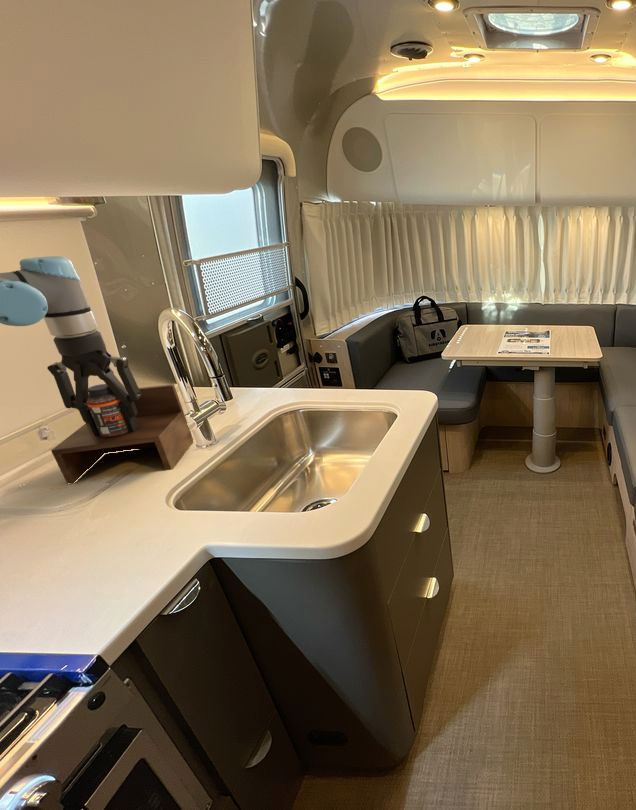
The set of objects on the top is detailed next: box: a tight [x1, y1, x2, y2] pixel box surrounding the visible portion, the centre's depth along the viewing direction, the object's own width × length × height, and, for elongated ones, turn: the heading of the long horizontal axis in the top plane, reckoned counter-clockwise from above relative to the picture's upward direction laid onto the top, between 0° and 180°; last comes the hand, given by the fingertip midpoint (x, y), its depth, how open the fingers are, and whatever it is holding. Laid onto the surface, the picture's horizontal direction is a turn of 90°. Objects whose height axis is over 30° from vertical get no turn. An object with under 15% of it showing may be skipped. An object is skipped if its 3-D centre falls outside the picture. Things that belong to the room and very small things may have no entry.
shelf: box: [50, 384, 194, 485], centre depth 113 cm, size 15×20×16 cm
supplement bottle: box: [87, 383, 129, 437], centre depth 108 cm, size 6×6×11 cm
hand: (117, 431), depth 111 cm, fingers closed on supplement bottle, 6 cm apart
